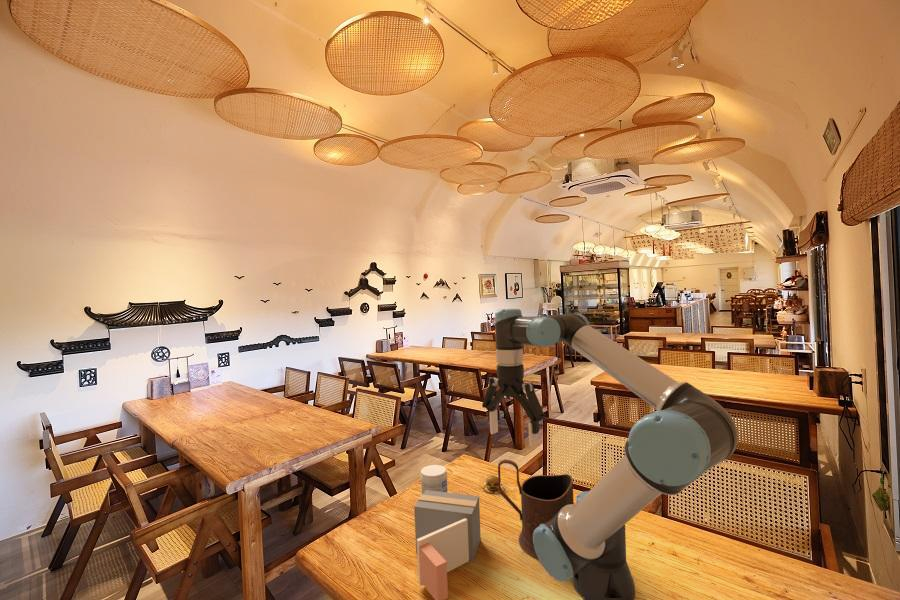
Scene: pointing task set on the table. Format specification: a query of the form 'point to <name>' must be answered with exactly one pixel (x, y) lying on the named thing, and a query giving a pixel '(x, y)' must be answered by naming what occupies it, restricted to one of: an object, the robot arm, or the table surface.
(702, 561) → the table surface
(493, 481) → the hamburger
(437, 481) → the supplement tub
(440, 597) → the door
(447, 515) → the carton
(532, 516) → the brown pitcher
